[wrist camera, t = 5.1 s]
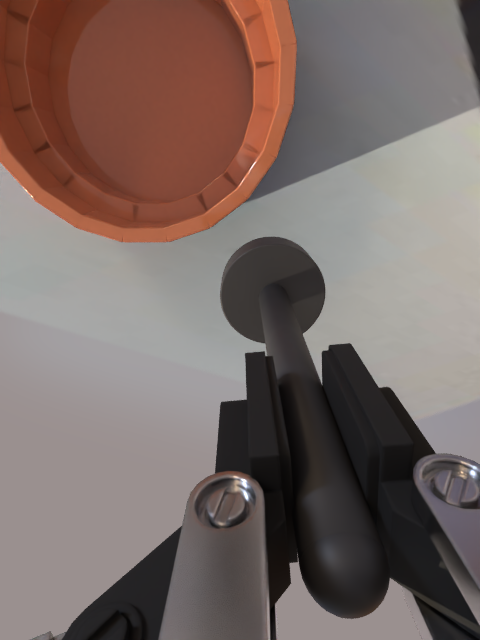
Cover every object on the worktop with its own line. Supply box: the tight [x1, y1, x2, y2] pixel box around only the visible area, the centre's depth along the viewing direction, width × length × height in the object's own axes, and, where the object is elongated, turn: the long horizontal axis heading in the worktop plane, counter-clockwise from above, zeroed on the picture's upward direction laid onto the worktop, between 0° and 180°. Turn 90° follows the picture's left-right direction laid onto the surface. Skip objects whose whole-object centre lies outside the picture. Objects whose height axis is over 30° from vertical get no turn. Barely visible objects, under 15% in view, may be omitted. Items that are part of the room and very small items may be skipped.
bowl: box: [0, 0, 297, 242], centre depth 20 cm, size 16×16×6 cm
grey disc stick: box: [220, 237, 390, 619], centre depth 13 cm, size 5×5×16 cm
